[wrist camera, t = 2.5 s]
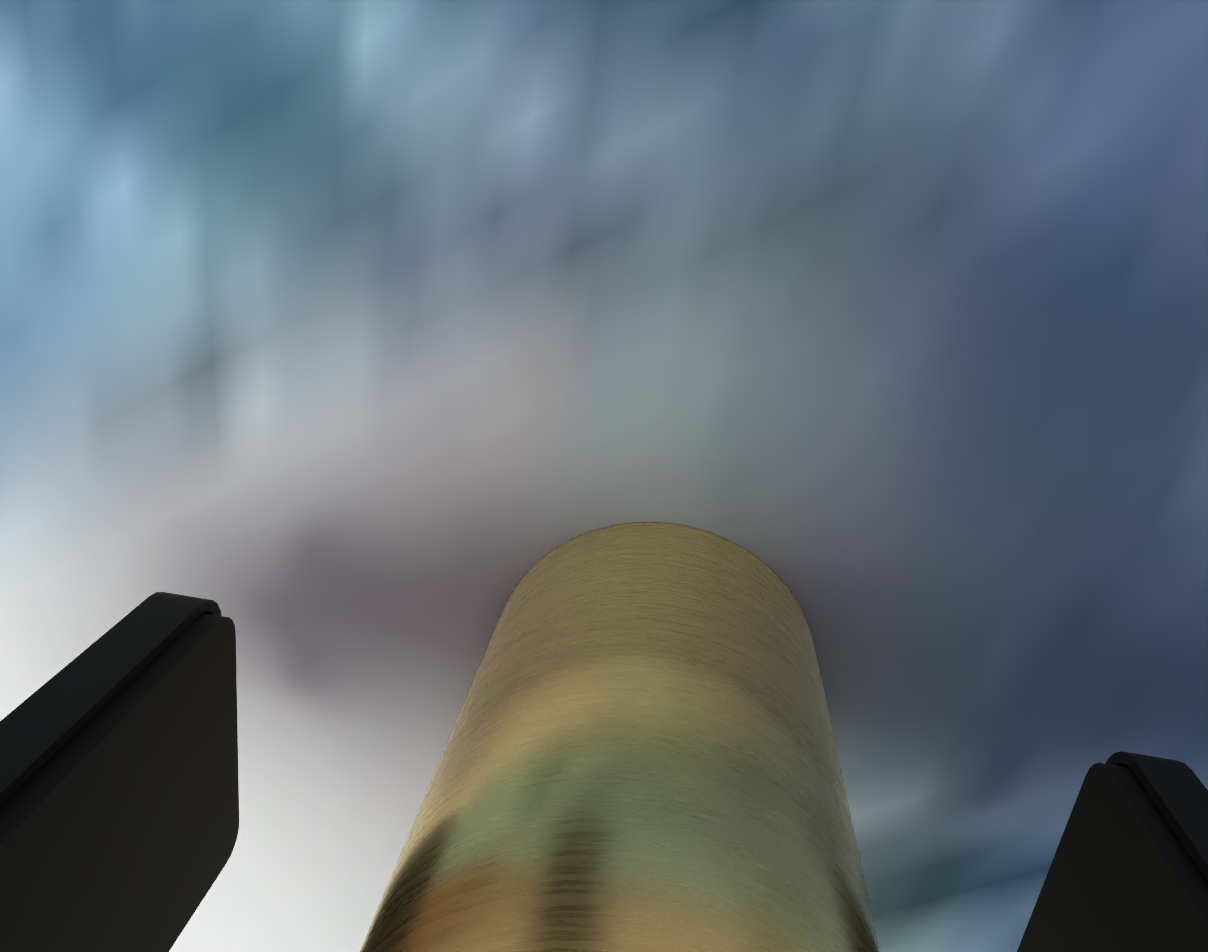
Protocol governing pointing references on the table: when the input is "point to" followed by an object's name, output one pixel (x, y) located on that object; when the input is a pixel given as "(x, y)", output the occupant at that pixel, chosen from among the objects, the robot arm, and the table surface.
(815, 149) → the table surface
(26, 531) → the table surface
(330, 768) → the table surface
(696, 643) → the yellow cylinder
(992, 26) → the table surface
